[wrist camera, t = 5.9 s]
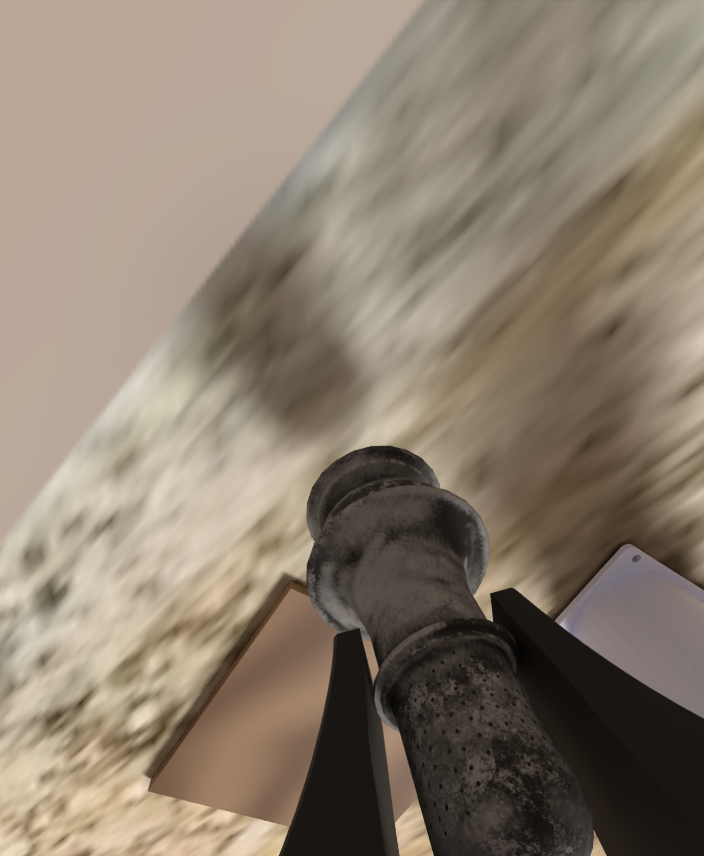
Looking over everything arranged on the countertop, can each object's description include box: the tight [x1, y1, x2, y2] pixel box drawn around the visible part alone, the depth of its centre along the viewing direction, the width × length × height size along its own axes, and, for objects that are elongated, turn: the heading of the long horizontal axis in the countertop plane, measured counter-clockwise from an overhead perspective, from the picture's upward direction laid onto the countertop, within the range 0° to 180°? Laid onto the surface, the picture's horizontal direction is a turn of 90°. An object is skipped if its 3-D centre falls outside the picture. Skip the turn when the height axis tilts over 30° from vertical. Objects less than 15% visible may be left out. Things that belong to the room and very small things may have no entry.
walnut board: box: [148, 581, 418, 827], centre depth 26 cm, size 16×16×1 cm
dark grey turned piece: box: [306, 446, 594, 856], centre depth 11 cm, size 6×6×12 cm
